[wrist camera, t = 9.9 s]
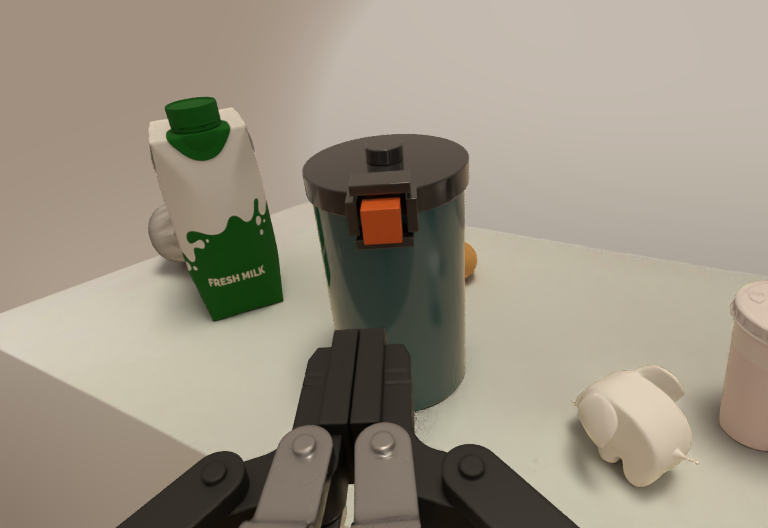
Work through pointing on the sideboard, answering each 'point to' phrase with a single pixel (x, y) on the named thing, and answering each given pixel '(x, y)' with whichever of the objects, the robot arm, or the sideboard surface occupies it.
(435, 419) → the sideboard surface
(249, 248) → the milk carton
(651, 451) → the elephant figurine
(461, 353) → the jug
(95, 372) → the sideboard surface
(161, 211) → the cupcake
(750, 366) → the smoothie
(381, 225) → the lid button
